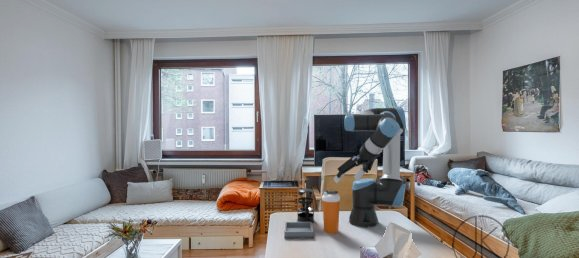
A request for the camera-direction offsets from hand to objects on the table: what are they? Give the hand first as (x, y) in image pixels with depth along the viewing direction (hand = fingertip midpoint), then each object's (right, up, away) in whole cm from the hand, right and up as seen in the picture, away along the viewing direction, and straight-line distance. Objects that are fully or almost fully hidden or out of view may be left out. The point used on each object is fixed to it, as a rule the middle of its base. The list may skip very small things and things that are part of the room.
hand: (345, 180), depth 140 cm
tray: (-22, -27, +6) cm, 35 cm away
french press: (-18, -27, +24) cm, 40 cm away
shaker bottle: (-6, -27, +8) cm, 29 cm away
